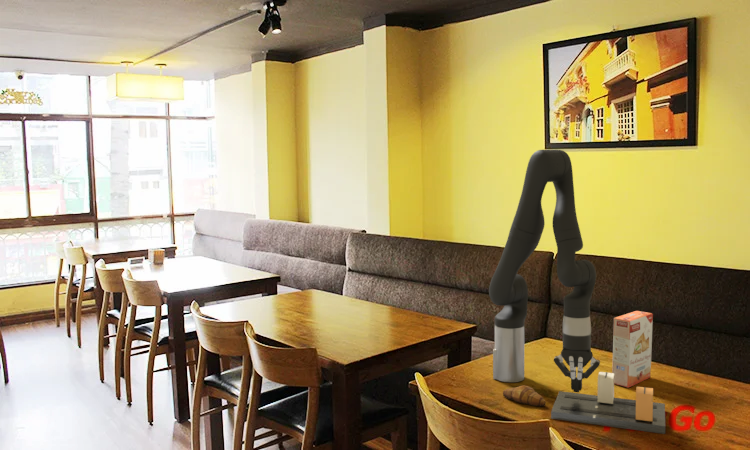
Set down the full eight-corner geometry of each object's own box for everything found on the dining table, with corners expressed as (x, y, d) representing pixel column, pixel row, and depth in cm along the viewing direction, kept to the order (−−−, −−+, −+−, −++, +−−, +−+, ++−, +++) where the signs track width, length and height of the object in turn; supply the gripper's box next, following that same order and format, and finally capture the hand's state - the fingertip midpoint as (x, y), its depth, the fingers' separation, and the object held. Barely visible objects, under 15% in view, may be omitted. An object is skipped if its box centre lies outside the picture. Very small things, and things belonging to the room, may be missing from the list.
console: (550, 419, 173) (550, 411, 173) (559, 396, 189) (559, 389, 189) (665, 435, 162) (665, 426, 162) (664, 409, 178) (664, 402, 178)
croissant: (551, 404, 184) (551, 387, 184) (539, 411, 180) (539, 394, 179) (509, 393, 194) (509, 377, 193) (497, 399, 189) (497, 383, 188)
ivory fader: (597, 401, 178) (597, 376, 178) (598, 395, 183) (599, 371, 182) (612, 403, 177) (613, 378, 176) (613, 397, 181) (614, 372, 181)
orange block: (635, 419, 166) (636, 392, 166) (636, 412, 171) (636, 386, 170) (652, 421, 165) (653, 394, 164) (652, 414, 169) (653, 387, 169)
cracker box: (629, 389, 194) (630, 320, 192) (611, 383, 199) (612, 317, 197) (652, 377, 203) (653, 312, 201) (634, 373, 208) (635, 309, 206)
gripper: (550, 332, 180) (550, 393, 182) (600, 336, 175) (600, 398, 177) (554, 326, 187) (554, 384, 189) (602, 329, 182) (602, 389, 184)
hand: (576, 391), depth 183 cm, fingers closed
